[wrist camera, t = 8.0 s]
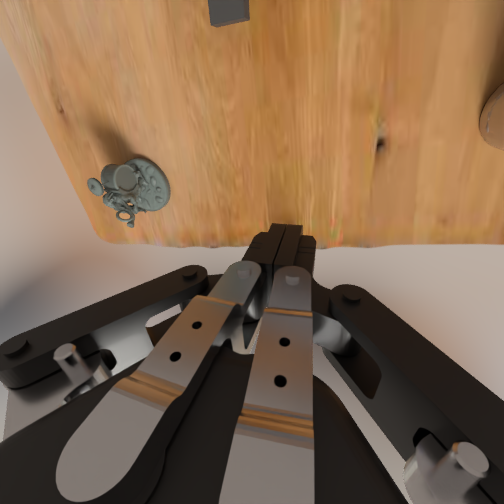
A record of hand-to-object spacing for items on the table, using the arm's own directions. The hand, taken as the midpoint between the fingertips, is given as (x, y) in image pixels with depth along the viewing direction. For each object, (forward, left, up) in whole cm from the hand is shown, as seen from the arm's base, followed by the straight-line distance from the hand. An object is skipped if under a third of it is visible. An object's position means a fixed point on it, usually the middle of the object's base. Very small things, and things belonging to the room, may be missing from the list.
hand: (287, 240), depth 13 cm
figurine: (+33, +7, -32) cm, 47 cm away
